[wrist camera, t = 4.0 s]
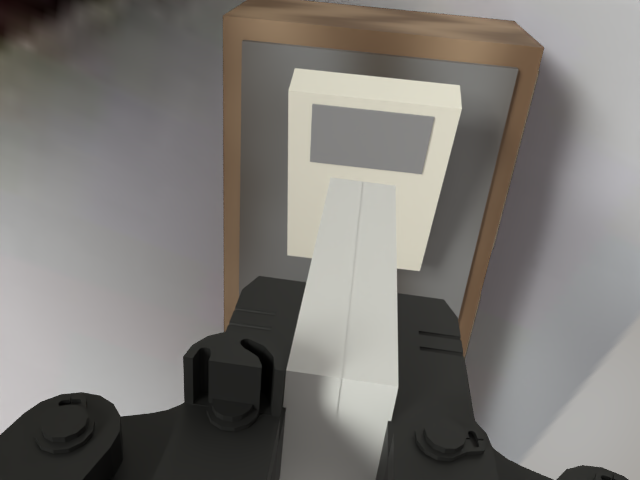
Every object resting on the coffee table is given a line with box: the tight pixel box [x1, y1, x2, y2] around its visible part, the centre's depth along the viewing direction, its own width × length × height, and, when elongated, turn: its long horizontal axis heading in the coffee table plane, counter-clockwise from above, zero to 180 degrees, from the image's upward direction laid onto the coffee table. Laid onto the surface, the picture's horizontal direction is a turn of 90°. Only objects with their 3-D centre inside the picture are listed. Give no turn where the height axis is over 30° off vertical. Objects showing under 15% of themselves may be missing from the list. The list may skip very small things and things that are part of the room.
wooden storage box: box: [223, 0, 544, 359], centre depth 32 cm, size 12×31×7 cm, turn 176°
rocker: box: [287, 68, 462, 271], centre depth 22 cm, size 6×8×2 cm
